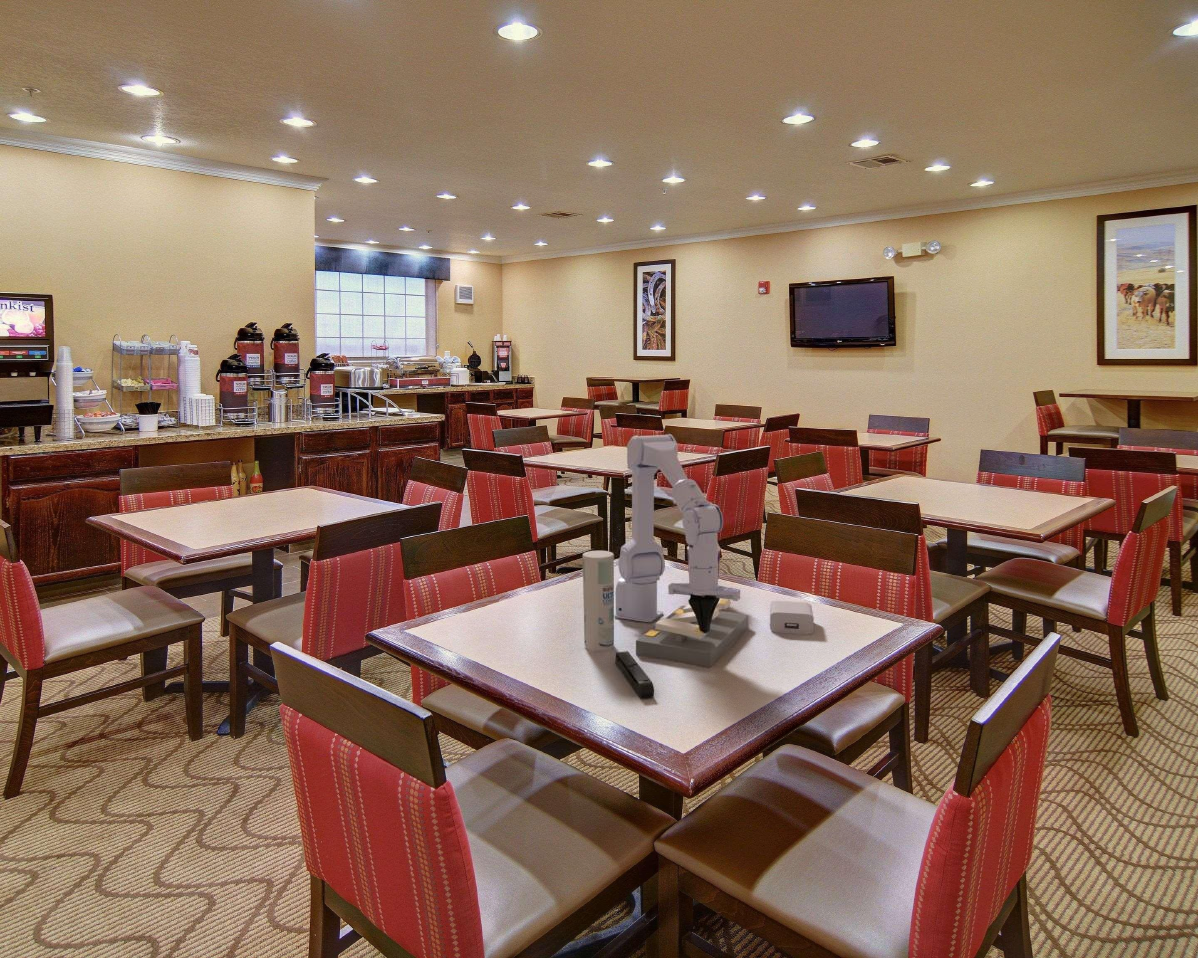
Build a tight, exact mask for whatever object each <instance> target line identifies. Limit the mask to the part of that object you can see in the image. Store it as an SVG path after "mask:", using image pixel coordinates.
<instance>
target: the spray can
mask: <svg viewBox="0 0 1198 958" xmlns="http://www.w3.org/2000/svg"><path fill="white" fill-rule="evenodd" d="M582 590H583V591H582V592H583V633H584V634H583V635H584V636H583V637H584V638H583V639H584V643H583V644H584V648H585V647H586V648H587V650H588V649H589V650H588V651H591V650H593V651H592V652H605V651H606V652H607V651H609V650H612V649H613V648H614V647H615V646H614V645H615V617H614V615H615V602H614V601H615V554H614V553H613V551H612V552H611V551H608V550H590V551H585V552H584V553H582ZM586 648H585V649H586Z"/></svg>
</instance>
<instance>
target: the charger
mask: <svg viewBox="0 0 1198 958" xmlns="http://www.w3.org/2000/svg"><path fill="white" fill-rule="evenodd" d="M769 606H770V609H769V611H770V612H769V621H770V622H769V626H770V627H769V630H770V631H771V632H773V633H783V634H784V633H787V634H805V635H811V634H813V633H814V623H815V622H814V621H815V620H814V619H815V618H814V613H813V608H812V604H810V603H809V602H806V601H805V602H803V601H788V600H787V601H786V600H774V601H771V602H770V605H769Z"/></svg>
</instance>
